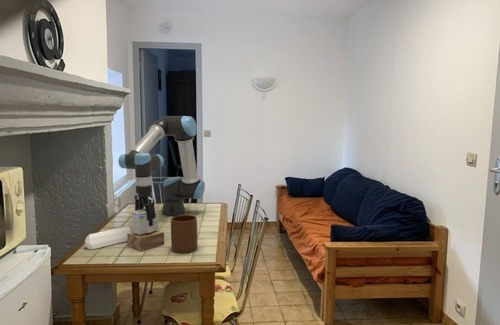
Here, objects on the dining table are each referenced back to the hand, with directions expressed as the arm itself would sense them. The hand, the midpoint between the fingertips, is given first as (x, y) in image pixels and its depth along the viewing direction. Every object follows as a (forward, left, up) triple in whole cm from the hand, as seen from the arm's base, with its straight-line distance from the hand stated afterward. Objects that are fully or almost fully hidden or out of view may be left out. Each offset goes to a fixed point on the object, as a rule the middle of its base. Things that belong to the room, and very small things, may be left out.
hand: (145, 230), depth 188 cm
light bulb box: (0, 0, -1) cm, 1 cm away
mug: (+16, +12, -8) cm, 21 cm away
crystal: (-16, -11, -8) cm, 21 cm away
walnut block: (0, 0, -7) cm, 7 cm away
